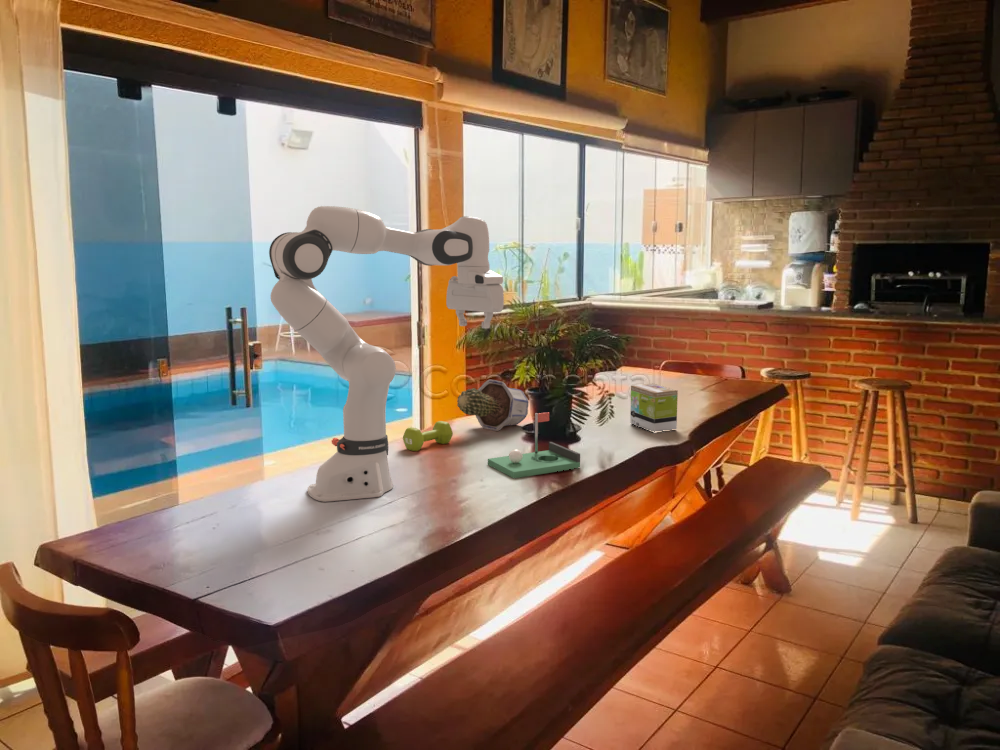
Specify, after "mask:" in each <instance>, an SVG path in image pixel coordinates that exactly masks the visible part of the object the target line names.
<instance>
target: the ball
mask: <svg viewBox="0 0 1000 750" xmlns="http://www.w3.org/2000/svg"><path fill="white" fill-rule="evenodd" d="M522 454H523V453H522V451H521V450H520V449H512V450H511V451H509V453H508V456H509V459H510V461H511V462H513V463H519V462H520V461H521V460H522V458H523V455H522Z"/></svg>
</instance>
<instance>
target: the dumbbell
mask: <svg viewBox="0 0 1000 750" xmlns="http://www.w3.org/2000/svg"><path fill="white" fill-rule="evenodd" d="M402 435H403V436H402V440H403V444H404V447H405V448H406V449H407V450H409V451H411V452H418V451H420V450H421V448H422V447H423V445H424V442H425V443H426V442H428V441H433V440H435V442H436V443H438V444H442V445H445V444H446V445H447V444H450V442H451V440H452V437H453V435H454V434H453V430H452V427H451V424H450V422H447V421H443V420H438V421H436V422H435V424H434V425H433V428H432V430H426V431H423V432H422V431H421V429H419V428H416V427H412V426H411V427H407V428H406V429H405V430H404V433H403V434H402Z"/></svg>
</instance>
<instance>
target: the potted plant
mask: <svg viewBox="0 0 1000 750" xmlns="http://www.w3.org/2000/svg"><path fill="white" fill-rule="evenodd" d="M460 393H461V394H459V396H458V397H457V405H456V407H458V408H459V411H461V412H462V413H464V414H466V415H470V416H475V417H476V420H477V422H478V423H479V425H480V426H481V427H482V428H483V429H485V430H488V431H489V430H491V431H494V432H495V431H500V430H502V429H503V428H504V427H507V426H515V425H519V424H521V423H522V421H524V420H525V419H526V418H527V416H528V413H529V405H530V404H529V399H528V397H527V396H526V394H525V392H524V391H523V390H522V389H518V388H515V387H514V388H513V387H512V388H511V387H508V386H507V384H506V383H504V381H500V380H495V379H487V380H486V381H485V382H483V383H482V385H481V386H480V387H479V388H478V389H476V388H468V389H466V390H464V391H461V392H460Z"/></svg>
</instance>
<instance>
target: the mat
mask: <svg viewBox="0 0 1000 750" xmlns="http://www.w3.org/2000/svg"><path fill="white" fill-rule="evenodd" d="M522 455H523V458H522V460H521V461H520V462H519V463H513V462H511V461H510V459H509V455H505V456H504V455H503V456H499V457H498V456H497V457H491V458H487V466H488V467H489V466H490V467H492V468H493V469H495V470H497V471H499V472H501V473H503V474H505V475H507V476H509V477H511V478H513V479H517V478H518V479H519V478H525V477H526V478H527V477H531V476H536V475H537V476H538V475H539V476H540V475H543V474H544V475H545V474H549V473H551V474H552V473H556V472H557V471H558V472H563V470H564V471H570V470H569V469H571V470H575V469H574V468H577V469H579V468H578V467H580V468H581V453H579V452H577V451H574V450H573V449H570V448H567V447H565V446H563V445H560V444H558V443H557V442H556V443H555V442H553V441H548V450H542V451H540V450H539V451H538V453H535V451H533V452H526V453H522Z"/></svg>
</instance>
